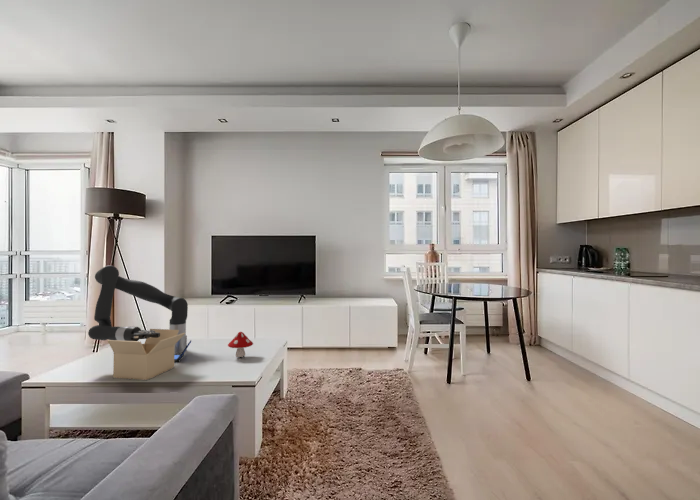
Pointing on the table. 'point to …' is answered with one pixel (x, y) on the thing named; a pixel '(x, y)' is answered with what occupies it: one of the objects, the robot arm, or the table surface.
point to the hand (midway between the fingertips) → (159, 335)
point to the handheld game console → (180, 355)
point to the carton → (142, 357)
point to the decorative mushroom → (240, 344)
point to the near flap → (166, 343)
